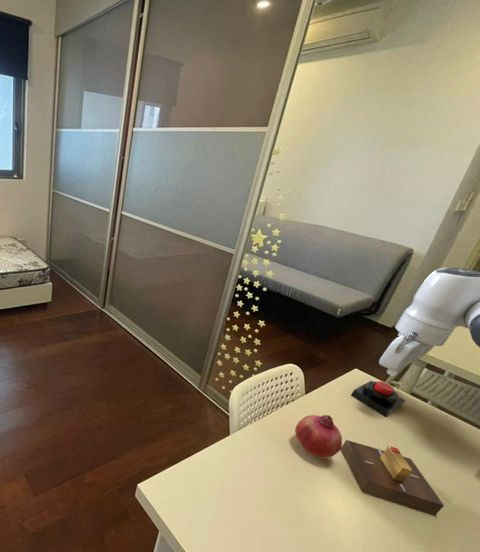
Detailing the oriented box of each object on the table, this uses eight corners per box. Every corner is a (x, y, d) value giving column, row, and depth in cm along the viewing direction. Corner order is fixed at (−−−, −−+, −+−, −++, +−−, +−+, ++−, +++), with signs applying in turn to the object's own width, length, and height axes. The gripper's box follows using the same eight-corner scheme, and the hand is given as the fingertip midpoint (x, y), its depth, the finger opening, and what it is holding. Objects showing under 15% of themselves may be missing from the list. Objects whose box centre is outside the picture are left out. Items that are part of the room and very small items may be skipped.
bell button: (377, 384, 88) (380, 379, 87) (393, 393, 85) (396, 388, 85) (371, 388, 87) (374, 383, 86) (387, 397, 84) (390, 392, 83)
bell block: (367, 386, 93) (373, 375, 91) (401, 406, 87) (409, 395, 85) (350, 395, 88) (357, 384, 87) (385, 417, 82) (393, 406, 80)
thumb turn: (403, 482, 62) (413, 469, 60) (393, 479, 62) (403, 467, 61) (388, 460, 66) (397, 447, 65) (379, 457, 67) (388, 445, 65)
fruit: (340, 462, 68) (362, 429, 64) (313, 470, 66) (334, 436, 62) (307, 431, 75) (325, 399, 71) (281, 436, 73) (297, 404, 69)
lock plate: (403, 467, 69) (411, 458, 67) (435, 515, 60) (444, 505, 59) (340, 448, 71) (346, 439, 70) (361, 491, 63) (369, 481, 61)
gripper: (422, 345, 70) (390, 392, 76) (453, 329, 80) (422, 372, 86) (388, 330, 75) (360, 375, 81) (420, 316, 85) (393, 357, 91)
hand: (392, 373), depth 83 cm, fingers closed
